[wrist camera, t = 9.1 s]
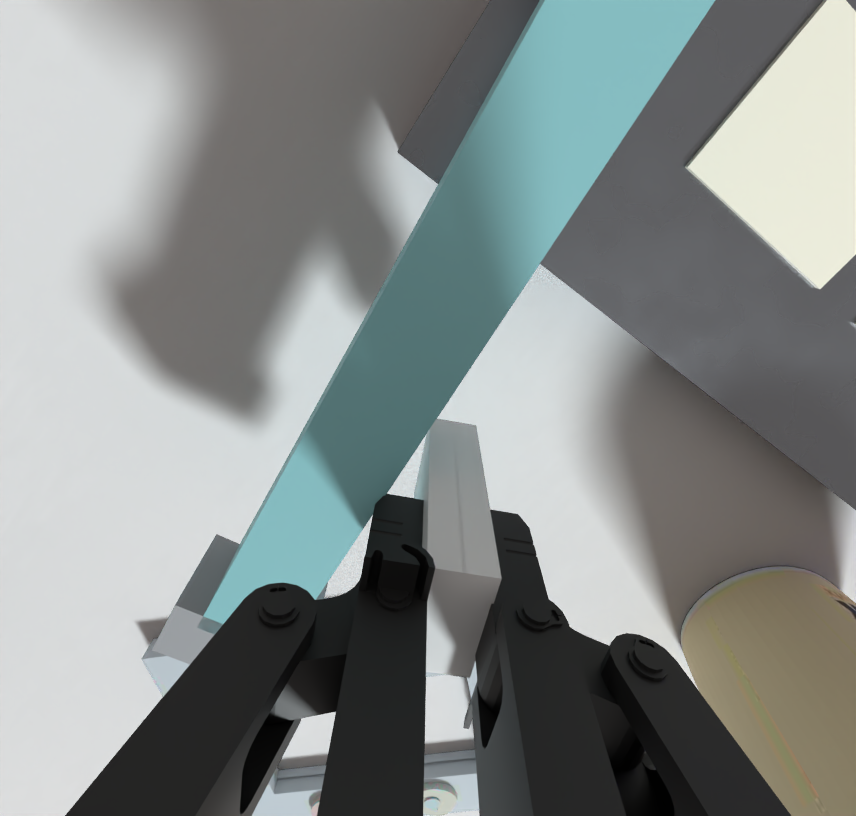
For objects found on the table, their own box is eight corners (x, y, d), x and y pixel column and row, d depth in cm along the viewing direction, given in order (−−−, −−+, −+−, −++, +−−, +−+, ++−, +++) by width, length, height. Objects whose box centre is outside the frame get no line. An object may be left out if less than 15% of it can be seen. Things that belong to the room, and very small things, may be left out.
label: (684, 166, 15) (687, 166, 15) (830, -9, 13) (836, -11, 13) (815, 288, 16) (820, 289, 16) (962, 143, 15) (969, 143, 14)
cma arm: (653, -303, 9) (760, -528, 6) (811, -147, 10) (970, -278, 7) (196, 573, 17) (149, 653, 15) (303, 617, 18) (280, 701, 15)
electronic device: (524, 619, 23) (548, 812, 29) (517, 582, 25) (540, 769, 31) (136, 667, 24) (238, 842, 30) (159, 628, 26) (250, 799, 32)
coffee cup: (881, 644, 26) (1216, 993, 15) (703, 713, 28) (880, 1061, 17) (827, 517, 22) (1205, 843, 12) (631, 606, 25) (792, 951, 14)
